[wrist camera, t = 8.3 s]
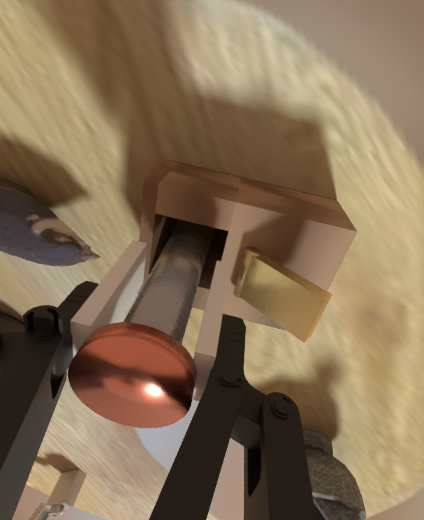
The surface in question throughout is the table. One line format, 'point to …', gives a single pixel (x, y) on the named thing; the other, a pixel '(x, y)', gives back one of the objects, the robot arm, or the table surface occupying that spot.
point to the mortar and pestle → (331, 482)
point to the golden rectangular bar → (280, 293)
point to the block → (245, 227)
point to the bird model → (37, 231)
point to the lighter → (61, 495)
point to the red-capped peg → (147, 343)
